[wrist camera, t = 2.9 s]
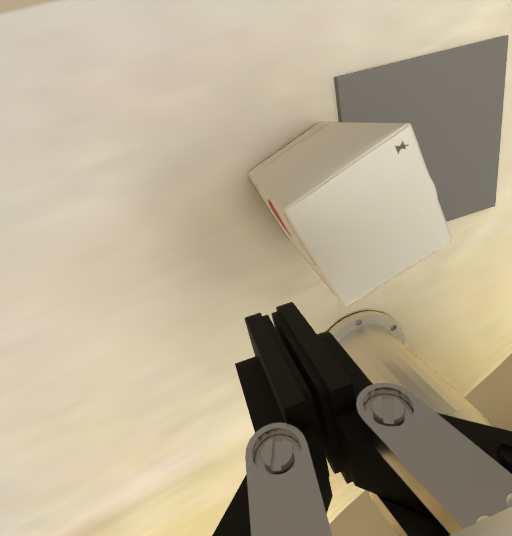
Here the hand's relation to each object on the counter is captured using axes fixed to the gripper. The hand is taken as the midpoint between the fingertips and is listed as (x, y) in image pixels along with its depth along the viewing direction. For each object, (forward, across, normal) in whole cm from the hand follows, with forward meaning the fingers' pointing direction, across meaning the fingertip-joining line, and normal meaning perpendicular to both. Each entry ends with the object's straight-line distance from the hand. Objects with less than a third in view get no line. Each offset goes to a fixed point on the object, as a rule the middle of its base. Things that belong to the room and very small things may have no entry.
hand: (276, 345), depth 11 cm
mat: (+24, -25, +1) cm, 35 cm away
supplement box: (+24, -10, +1) cm, 26 cm away
